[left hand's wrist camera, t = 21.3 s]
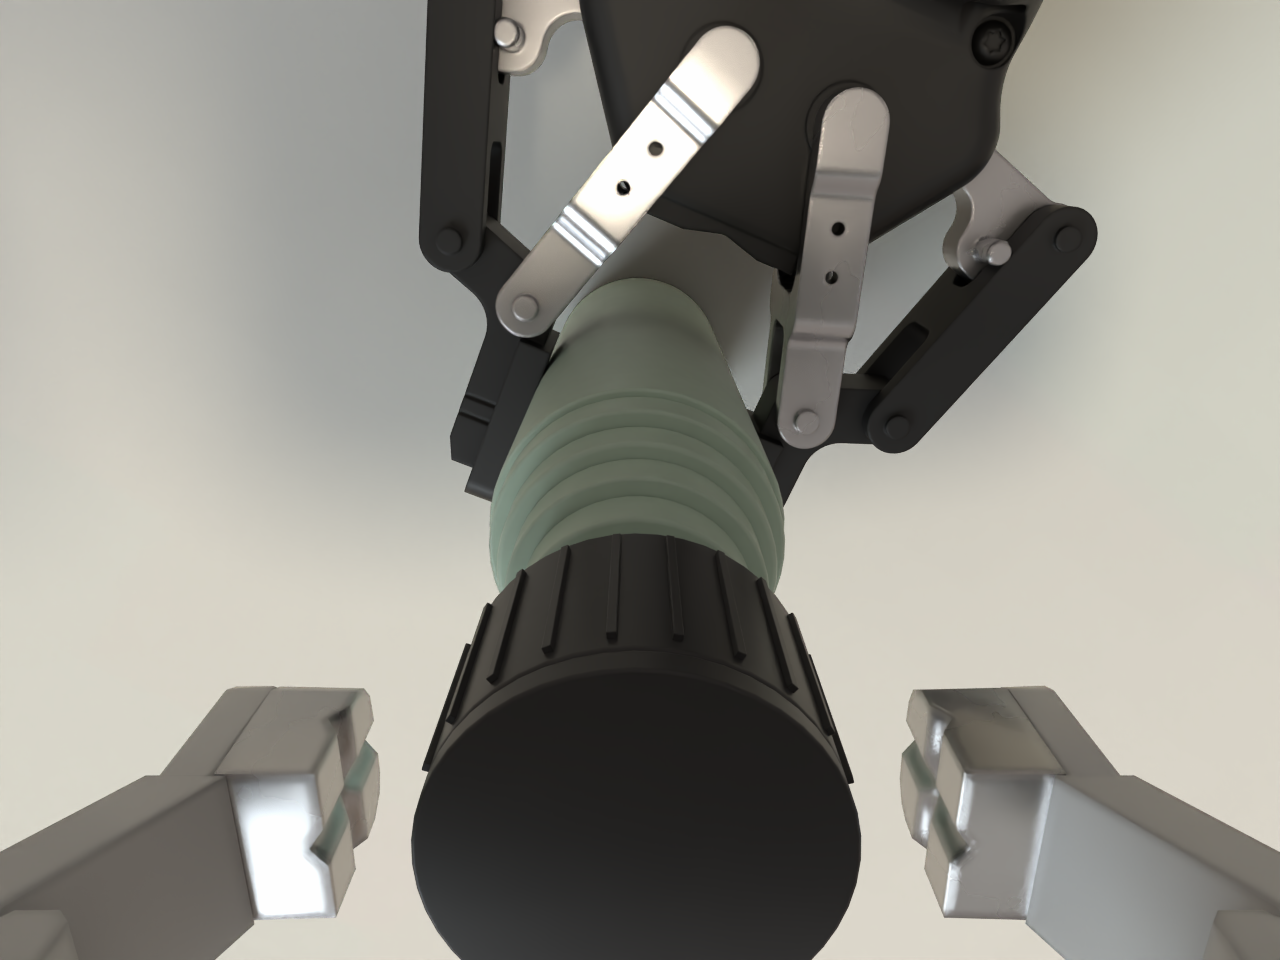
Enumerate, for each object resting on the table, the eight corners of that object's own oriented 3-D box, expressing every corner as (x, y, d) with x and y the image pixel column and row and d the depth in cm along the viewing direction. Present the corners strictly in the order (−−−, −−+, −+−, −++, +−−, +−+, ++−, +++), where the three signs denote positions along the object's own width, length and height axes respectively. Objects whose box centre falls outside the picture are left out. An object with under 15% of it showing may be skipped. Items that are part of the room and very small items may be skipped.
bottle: (646, 463, 27) (664, 1068, 9) (525, 368, 26) (278, 836, 8) (749, 348, 26) (1003, 783, 8) (627, 243, 25) (599, 468, 7)
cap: (393, 634, 10) (307, 799, 7) (704, 462, 9) (731, 579, 6) (580, 872, 11) (562, 1088, 8) (868, 736, 10) (944, 926, 8)
